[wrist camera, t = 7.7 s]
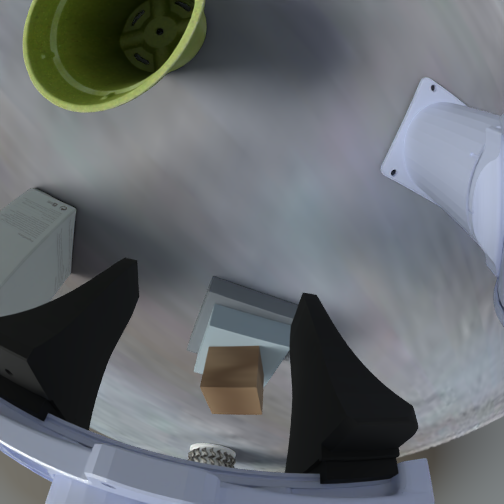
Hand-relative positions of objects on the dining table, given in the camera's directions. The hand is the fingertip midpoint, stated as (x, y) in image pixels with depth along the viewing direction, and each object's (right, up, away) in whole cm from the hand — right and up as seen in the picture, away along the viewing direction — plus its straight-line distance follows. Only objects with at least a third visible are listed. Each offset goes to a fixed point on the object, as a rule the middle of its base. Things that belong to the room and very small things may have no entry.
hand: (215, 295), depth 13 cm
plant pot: (-4, +16, +3) cm, 17 cm away
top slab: (+1, -6, +13) cm, 15 cm away
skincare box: (-17, +4, +12) cm, 21 cm away
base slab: (+1, -4, +15) cm, 16 cm away
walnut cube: (0, -7, +11) cm, 13 cm away
